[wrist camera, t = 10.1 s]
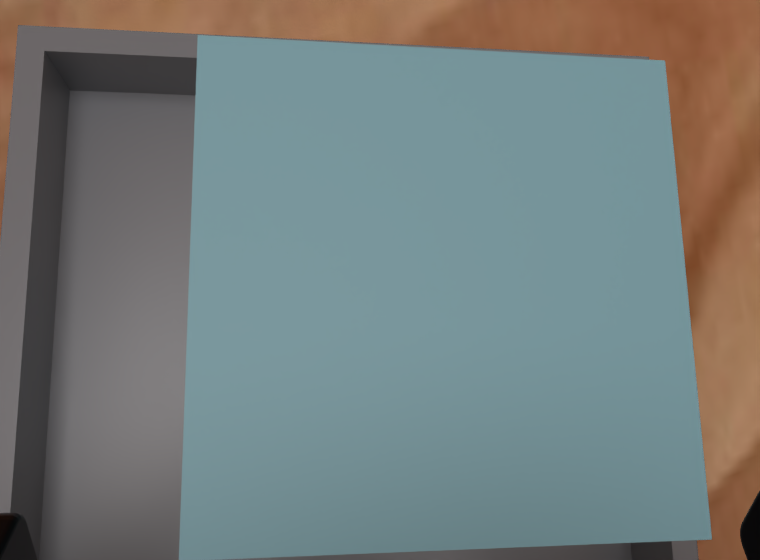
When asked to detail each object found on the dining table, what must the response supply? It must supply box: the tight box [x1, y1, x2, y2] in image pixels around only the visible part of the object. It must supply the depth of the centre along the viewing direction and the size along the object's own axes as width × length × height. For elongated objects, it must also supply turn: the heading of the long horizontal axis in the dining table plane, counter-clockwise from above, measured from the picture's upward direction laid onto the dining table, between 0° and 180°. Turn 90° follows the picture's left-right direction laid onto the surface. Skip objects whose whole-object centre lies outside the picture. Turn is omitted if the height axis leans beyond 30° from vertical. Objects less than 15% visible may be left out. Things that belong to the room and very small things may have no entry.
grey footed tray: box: [0, 25, 699, 560], centre depth 18 cm, size 15×15×5 cm
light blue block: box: [179, 35, 712, 560], centre depth 12 cm, size 5×5×11 cm
